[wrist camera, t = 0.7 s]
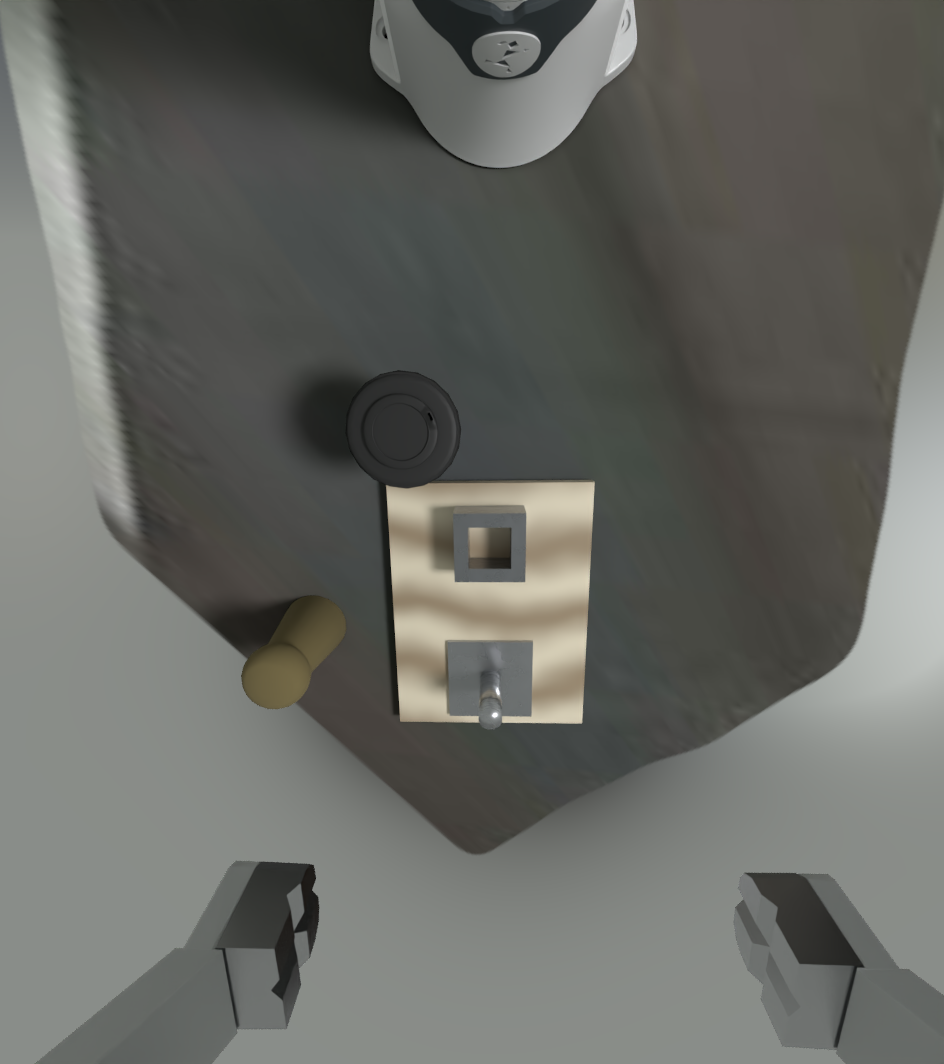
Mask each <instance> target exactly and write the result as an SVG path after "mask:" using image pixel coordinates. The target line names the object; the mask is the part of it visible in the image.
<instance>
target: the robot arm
mask: <svg viewBox="0 0 944 1064" xmlns="http://www.w3.org/2000/svg"><path fill="white" fill-rule="evenodd" d="M386 33H387V38H388V39H386V38H384V36H385V34H386ZM636 44H637V30H636V21H635V11H634V1H633V0H375V1H374V11H373V20H372V30H371V39H370V56H371V61H372V65H373V68H374V70H375V71H376V73H377V74H378V75H379V76H380V77H381V78H382V79H383V80H384V81H385V82H386V83H388V84H389V85H390V86H392V87H393V88H394V89H396V90H397V91H399V92H400V93H401V94H403V95H404V96H405V97H406V98H407V100H408V101H409V102H410V104H411V105H412V107H413V108H414V110H415V112H416V113H417V115H418V117H419V118H420V120H421V122H422V123H423V125H424V126H425V128H426V129H427V130H428V132H429V133H430V134H431V135H432V136H433V137H434V138H435V140H436V141H437V142H438V143H440V144H441V145H442V146H443V147H444V148H445V149H447V150H448V151H449V152H451V153H452V154H454V155H455V156H457V157H459V158H461V159H463V160H465V161H467V162H470V163H473V164H476V165H480V166H485V167H492V168H506V167H514V166H519V165H523V164H526V163H529V162H531V161H534V160H536V159H538V158H540V157H542V156H544V155H545V154H547V153H548V152H550V151H551V150H553V149H554V148H555V147H557V146H558V145H559V144H560V143H561V142H562V141H563V140H564V139H565V138H566V137H567V136H568V135H569V134H570V133H571V132H572V131H573V130H574V128H575V127H576V126H577V124H578V123H579V121H580V120H581V118H582V117H583V115H584V114H585V112H586V110H587V108H588V107H589V105H590V103H591V102H592V100H593V98H594V97H595V95H596V94H597V93H598V91H599V90H600V89H601V88H602V87H603V86H605V85H606V84H607V83H609V82H610V81H611V80H612V79H614V78H615V77H616V76H617V75H618V74H620V73H621V72H622V71H623V70H624V69H625V68H626V67H627V66H628V64H629V63H630V62H631V60H632V58H633V56H634V52H635V48H636ZM315 880H316V875H315V868H314V865H312V864H298V863H279V862H254V861H235V862H234V863H233V864H232V865H231V866H230V867H229V868H228V870H227V871H226V873H225V875H224V877H223V879H222V880H221V882H220V884H219V886H218V887H217V889H216V891H215V893H214V895H213V896H212V898H211V900H210V902H209V903H208V905H207V907H206V909H205V911H204V912H203V914H202V916H201V918H200V919H199V921H198V923H197V925H196V927H195V928H194V930H193V932H192V934H191V936H190V937H189V939H188V941H187V943H186V944H185V946H184V948H175V949H174V950H173V951H171V952H170V953H169V954H168V955H167V956H166V957H164V958H163V959H162V960H160V961H159V962H158V963H157V964H156V965H154V966H153V967H152V968H151V969H149V970H148V971H147V972H146V973H145V974H143V975H142V976H141V977H140V978H139V979H137V980H136V981H135V982H134V983H132V984H131V985H130V986H129V987H128V988H126V989H125V990H124V991H123V992H121V993H120V994H119V995H118V996H117V997H115V998H114V999H113V1000H112V1001H111V1002H109V1003H108V1004H107V1005H106V1006H104V1007H103V1008H102V1009H101V1010H100V1011H98V1012H97V1013H96V1014H95V1015H93V1016H92V1017H91V1018H90V1019H89V1020H87V1021H86V1022H85V1023H84V1024H83V1025H81V1026H80V1027H79V1028H78V1029H76V1030H75V1031H74V1032H73V1033H72V1034H71V1035H69V1036H68V1037H67V1038H65V1039H64V1040H63V1041H62V1042H61V1043H59V1044H58V1045H57V1046H56V1047H55V1048H54V1049H52V1050H51V1051H50V1052H48V1053H47V1054H46V1055H45V1056H44V1057H42V1058H41V1059H40V1060H39V1061H37V1062H36V1063H35V1064H212V1063H213V1062H214V1060H215V1059H216V1058H217V1057H218V1056H219V1054H220V1053H221V1052H222V1051H223V1050H224V1048H225V1047H226V1046H227V1045H228V1044H229V1042H230V1041H231V1040H232V1039H233V1037H234V1036H235V1035H236V1034H237V1029H287V1026H288V1023H289V1020H290V1017H291V1014H292V1011H293V1008H294V1004H295V1002H296V999H297V995H298V993H299V989H300V986H301V981H300V973H299V968H300V967H301V966H302V965H303V964H304V963H305V962H306V961H307V960H308V959H309V958H310V955H311V952H312V949H313V946H314V942H315V939H316V933H317V928H318V922H319V899H318V896H317V895H316V894H315V893H314V892H313V891H312V889H313V886H314V883H315ZM738 888H739V891H740V893H741V895H742V897H743V900H742V901H741V902H740V903H739V904H738V905H737V906H736V907H735V914H734V927H735V934H736V940H737V943H738V947H739V950H740V953H741V956H742V958H743V960H744V962H745V965H746V967H747V969H748V971H749V972H750V973H751V974H752V975H754V976H755V977H756V978H757V979H758V980H759V981H760V982H761V983H762V984H763V990H762V996H761V1001H762V1003H763V1005H764V1007H765V1009H766V1011H767V1013H768V1016H769V1018H770V1020H771V1022H772V1025H773V1027H774V1029H775V1031H776V1033H777V1035H778V1038H779V1040H780V1042H781V1044H782V1046H785V1047H800V1048H815V1049H829V1050H837V1052H836V1054H837V1055H838V1056H839V1057H840V1058H841V1059H842V1060H843V1061H844V1062H845V1063H846V1064H944V995H943V994H941V993H940V992H939V991H937V990H936V989H935V988H933V987H932V986H930V985H929V984H928V983H926V982H925V981H924V980H922V979H921V978H920V977H918V976H917V975H916V974H914V973H913V972H912V971H910V970H908V969H899V967H898V966H897V965H896V963H895V962H894V960H893V959H892V958H891V957H890V955H889V954H888V952H887V951H886V950H885V948H884V947H883V945H882V944H881V943H880V941H879V940H878V939H877V937H876V936H875V934H874V933H873V932H872V930H871V929H870V927H869V926H868V925H867V923H866V922H865V921H864V919H863V918H862V916H861V915H860V914H859V912H858V911H857V909H856V908H855V907H854V905H853V904H852V903H851V901H850V900H849V898H848V897H847V896H846V894H845V893H844V892H843V890H842V889H841V887H840V886H839V885H838V883H837V882H836V881H835V879H833V878H832V877H831V876H829V875H828V874H796V873H744V874H743V875H742V876H741V877H740V881H739V887H738Z"/></svg>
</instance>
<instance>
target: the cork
mask: <svg viewBox="0 0 944 1064" xmlns="http://www.w3.org/2000/svg"><path fill="white" fill-rule="evenodd" d="M345 632H346V620H345V618H344V615H343V613H342V611H341V610H340V609H339V607H338V606H337V605H336V604H335V603H333V602H332V601H330V600H329V599H326V598H323V597H320V596H305V597H302V598H299V599H298V600H296V601H295V602H293V603H292V604H291V606H290V607H289V608H288V610H287V611H286V613H285V615H284V617H283V618H282V620H281V622H280V624H279V625H278V627H277V629H276V631H275V632H274V634H273V636H272V638H271V640H270V641H269V643H268V644H267V645H264V646H262V647H261V648H259V649H258V650H256V651H255V652H253V653H252V654H251V655H250V657H249V658H248V660H247V661H246V662H245V665H244V667H243V671H242V675H241V677H242V685H243V689H244V691H245V693H246V695H247V696H248V697H249V698H250V699H251V700H252V702H254V703H256V704H257V705H259V706H261V707H264V708H267V709H280V708H284V707H288V706H290V705H292V704H293V703H295V702H296V701H298V700H299V699H300V698H301V697H302V695H303V694H304V693H305V692H306V690H307V688H308V685H309V682H310V678H311V673H312V671H313V670H314V669H315V668H316V667H317V666H318V665H319V664H320V663H321V662H322V661H323V660H324V659H325V658H326V657H327V656H328V655H329V654H330V653H331V652H332V651H333V650H334V649H335V648H336V647H337V646H338V645H339V643H340V642H341V641H342V639H343V638H344V635H345Z"/></svg>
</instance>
